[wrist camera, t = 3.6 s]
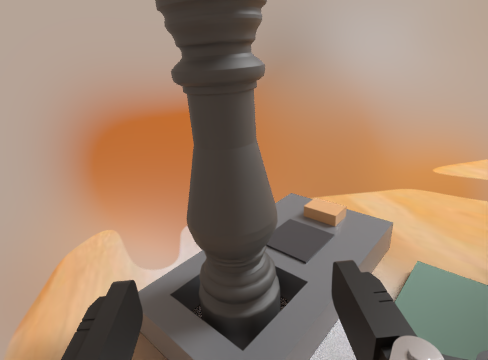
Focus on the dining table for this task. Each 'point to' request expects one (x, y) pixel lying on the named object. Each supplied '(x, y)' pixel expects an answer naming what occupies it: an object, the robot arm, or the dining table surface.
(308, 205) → the grey compartment tray
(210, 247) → the candle holder
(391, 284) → the dining table surface
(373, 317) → the robot arm
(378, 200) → the dining table surface
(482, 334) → the mat
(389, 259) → the dining table surface
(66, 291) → the dining table surface
